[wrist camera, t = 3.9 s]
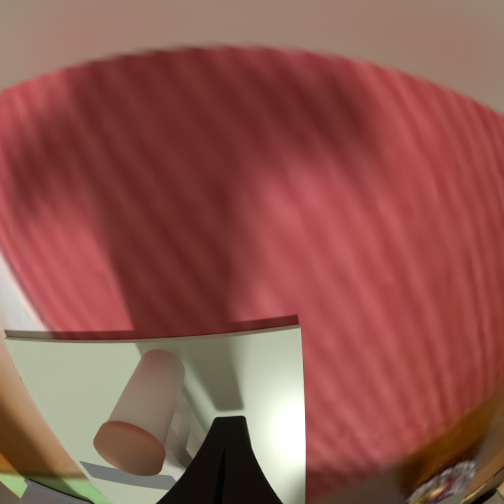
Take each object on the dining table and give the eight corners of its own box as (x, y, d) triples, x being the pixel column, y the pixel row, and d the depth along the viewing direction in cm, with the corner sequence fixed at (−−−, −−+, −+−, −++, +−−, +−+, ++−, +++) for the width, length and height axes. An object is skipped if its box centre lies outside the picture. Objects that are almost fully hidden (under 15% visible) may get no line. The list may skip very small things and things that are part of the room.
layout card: (130, 517, 15) (129, 520, 15) (6, 336, 11) (3, 339, 10) (304, 522, 15) (304, 524, 15) (299, 324, 10) (300, 328, 10)
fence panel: (209, 478, 12) (203, 545, 7) (129, 351, 10) (80, 431, 6) (245, 475, 12) (245, 544, 7) (176, 343, 10) (140, 433, 5)
